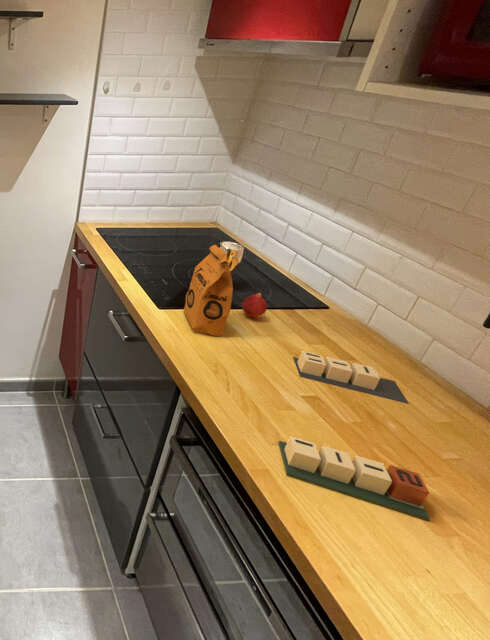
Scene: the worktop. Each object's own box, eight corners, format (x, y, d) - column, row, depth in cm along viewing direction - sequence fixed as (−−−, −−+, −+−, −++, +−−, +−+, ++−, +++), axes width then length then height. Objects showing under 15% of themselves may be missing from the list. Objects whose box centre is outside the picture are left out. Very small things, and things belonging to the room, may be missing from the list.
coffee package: (186, 332, 121) (206, 260, 112) (179, 308, 131) (197, 241, 122) (226, 340, 118) (250, 266, 109) (216, 315, 129) (237, 246, 120)
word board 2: (408, 481, 80) (418, 465, 79) (429, 521, 74) (441, 504, 72) (278, 442, 88) (285, 426, 86) (286, 475, 81) (294, 458, 79)
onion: (240, 320, 127) (249, 296, 123) (237, 309, 132) (245, 286, 128) (264, 324, 125) (273, 300, 122) (260, 314, 130) (268, 290, 126)
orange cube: (410, 487, 79) (419, 472, 77) (420, 506, 75) (430, 492, 74) (381, 478, 80) (390, 464, 79) (390, 497, 77) (399, 482, 75)
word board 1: (393, 382, 104) (401, 368, 102) (408, 406, 97) (416, 391, 96) (291, 358, 111) (297, 344, 110) (299, 378, 105) (305, 364, 103)
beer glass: (218, 294, 139) (231, 251, 133) (202, 283, 146) (214, 242, 139) (236, 292, 141) (250, 249, 135) (220, 281, 147) (232, 240, 141)
